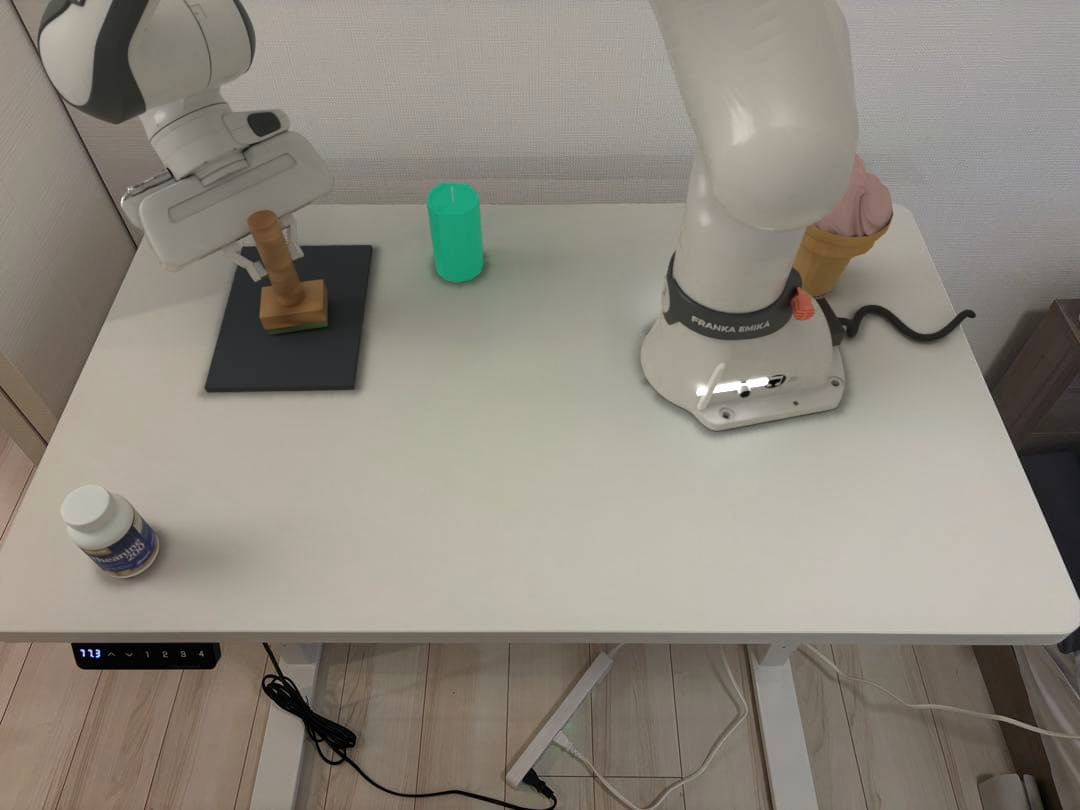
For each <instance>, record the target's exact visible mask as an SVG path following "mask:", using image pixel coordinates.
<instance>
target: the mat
mask: <svg viewBox="0 0 1080 810" xmlns="http://www.w3.org/2000/svg"><path fill="white" fill-rule="evenodd" d="M299 246H300V248H301V250H302V251H303V253H304V256H303V257H302V258H300V259H298V260H296V261H294V265H295V268H296V271H297V273H298V276H299V279H300V282H305V281H313V280H320V279H323V280H324V283H325V286H326V289H327V298H328V326H327V327H321V328H313V329H306V330H299V331H292V332H285V333H278V334H271V335H269V333H268V330H265V329H264V327H263V325H262V322H261V320H260V318H259V317H260V305H261V292H262V287H269V286H272V284H271V282H270V279H269V277H268V276H266V277H264V278H262V279H261V280H259V281H257V282H255V281H254V280H253V279H252V277H251V276H250V274H249V273H248V271H247V269H246V268H243V267H241V266H239V265H237V264H236V269H235V272H234V277H233V280H232V282H231V283H232V284H231V288H230V291H229V295H228V299H227V303H226V306H225V309H224V313H223V316H222V321H221V326H220V328H219V331H218V336H217V340H216V344H215V347H214V351H213V355H212V358H211V362H210V366H209V369H208V372H207V377H206V381H205V384H204V390H205V392H207V393H226V392H228V393H229V392H231V393H233V392H283V391H284V392H285V391H287V392H288V391H289V392H291V391H339V390H342V391H344V390H346V391H347V390H355V383H356V376H357V369H358V361H359V355H360V353H359V352H360V345H361V338H362V330H363V323H364V316H365V315H364V314H365V309H366V301H367V293H368V284H369V278H370V271H371V263H372V255H373V246H372V244H338V245H337V244H335V245H334V244H332V245H331V244H329V245H326V244H324V245H321V244H320V245H299ZM239 254H240V255H241V256H243V257H245V258H246V259H248V260H250V261H251V262H253V263H255V262H257V261H259V260H261V262H262V259H261V257H260V254H259V252H258V249H257V247H256V245H251V246H250V245H247V246H246V245H245V246H242V247H241V250H240V253H239ZM262 263H263V262H262ZM263 265H264V264H263ZM264 268H265V267H264Z"/></svg>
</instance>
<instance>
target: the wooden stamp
mask: <svg viewBox="0 0 1080 810" xmlns="http://www.w3.org/2000/svg"><path fill="white" fill-rule="evenodd" d="M247 224H248V227H249V229H250V232H251V234H250V235H251V237H252V239H253V242H254V244H255V246H256V247H257V249H258V252H259V254H260V257H261V259H262V262H263V264H264V267H265V269H266V270H267V271H268V273H269V275H268V277H269V279H270V282H271V284H272V286H269V287H262V292H261V305H260V317H259V318H260V320H261V322H262V325H263V327H264V329H265V330H268V333H269V335H271V334H278V333H285V332H292V331H299V330H306V329H313V328H321V327H327V326H328V298H327V289H326V286H325V283H324V280H323V279H320V280H313V281H305V282H300V279H299V276H298V273H297V271H296V268H295V265H294V262H293V259H292V257H291V254H290V251H289V248H288V246H287V239H286V238H285V235H284V233H283V230H282V229H281V226H280V224H279V221H278V218H277V215H276V214H275V213H274V212H273V211H270V210H261V211H257V212H255V213H253V214H252V215H250V216H249V217H248V219H247Z"/></svg>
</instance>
